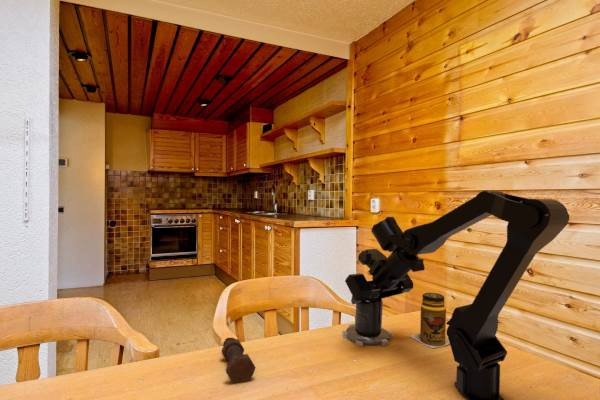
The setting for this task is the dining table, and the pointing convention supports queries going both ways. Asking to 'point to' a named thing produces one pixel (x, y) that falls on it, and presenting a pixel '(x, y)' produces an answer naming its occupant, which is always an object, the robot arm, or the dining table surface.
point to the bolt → (237, 361)
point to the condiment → (432, 321)
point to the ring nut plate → (364, 340)
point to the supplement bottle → (369, 316)
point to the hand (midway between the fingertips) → (364, 300)
